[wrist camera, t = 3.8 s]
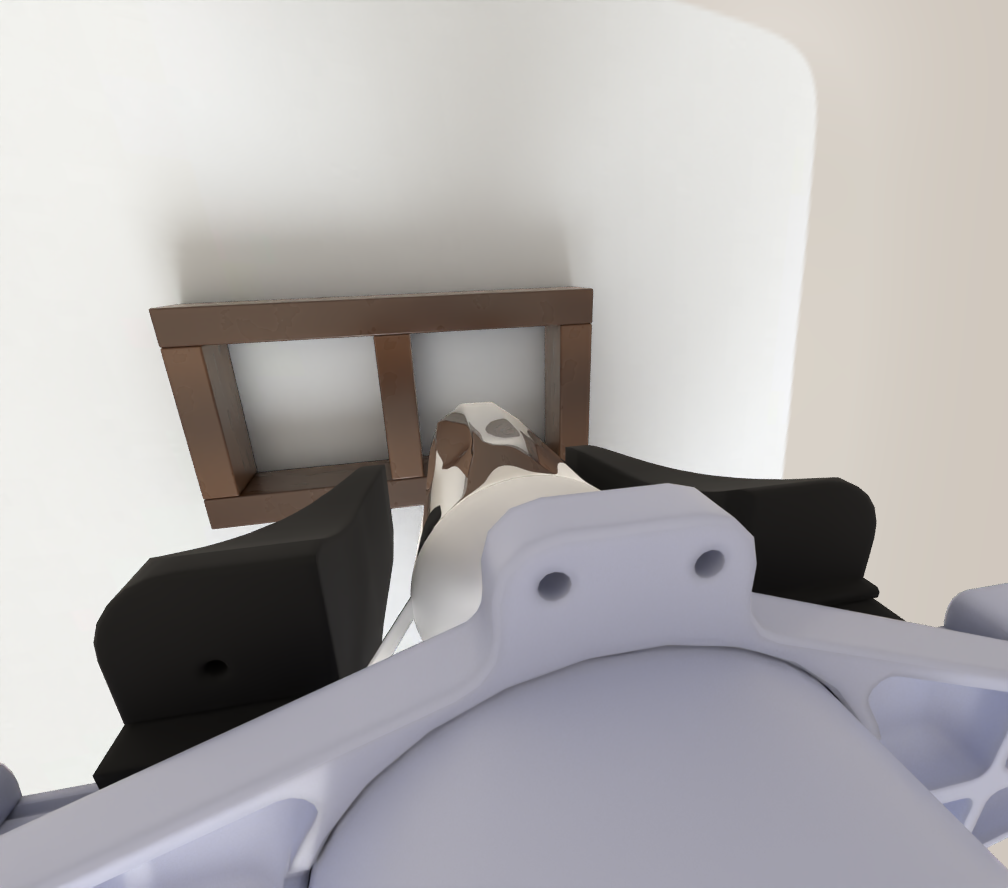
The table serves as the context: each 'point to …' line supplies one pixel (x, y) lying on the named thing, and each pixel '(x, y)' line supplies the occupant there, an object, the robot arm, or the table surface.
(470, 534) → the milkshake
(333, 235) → the table surface
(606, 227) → the table surface
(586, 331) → the rack
